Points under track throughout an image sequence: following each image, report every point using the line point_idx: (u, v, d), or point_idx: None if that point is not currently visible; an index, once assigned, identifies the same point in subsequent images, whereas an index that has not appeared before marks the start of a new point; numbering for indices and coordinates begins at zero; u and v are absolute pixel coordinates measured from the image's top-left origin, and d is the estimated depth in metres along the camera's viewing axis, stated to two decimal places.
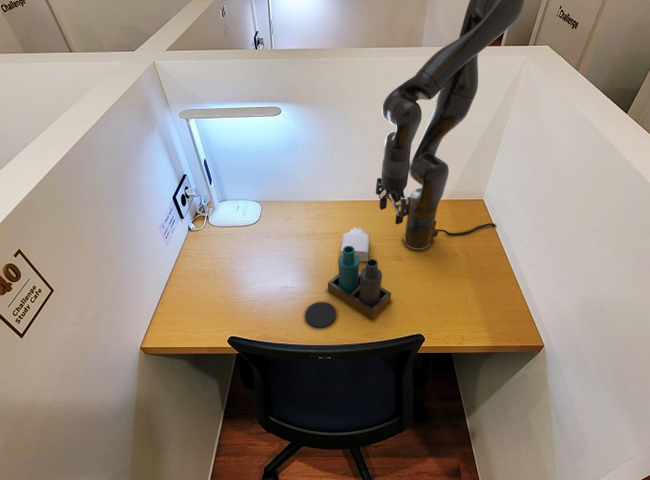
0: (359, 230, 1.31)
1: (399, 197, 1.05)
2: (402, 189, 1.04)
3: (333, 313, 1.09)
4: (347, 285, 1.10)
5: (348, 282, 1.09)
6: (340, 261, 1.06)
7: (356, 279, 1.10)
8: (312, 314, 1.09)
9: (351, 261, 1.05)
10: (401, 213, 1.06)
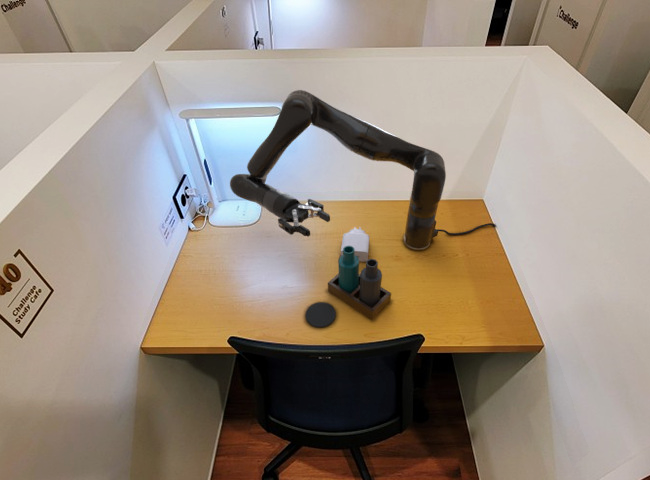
0: (359, 230, 1.31)
1: (286, 221, 1.09)
2: (281, 215, 1.09)
3: (333, 313, 1.09)
4: (347, 285, 1.10)
5: (348, 282, 1.09)
6: (340, 261, 1.06)
7: (356, 279, 1.10)
8: (312, 314, 1.09)
9: (351, 261, 1.05)
10: None
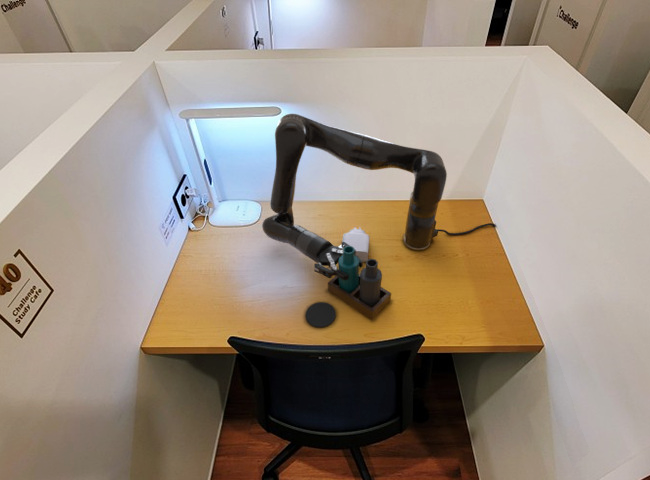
0: (359, 230, 1.31)
1: None
2: (315, 258, 1.11)
3: (333, 313, 1.09)
4: (347, 285, 1.10)
5: (348, 282, 1.09)
6: (340, 261, 1.06)
7: (356, 279, 1.10)
8: (312, 314, 1.09)
9: (351, 261, 1.05)
10: None
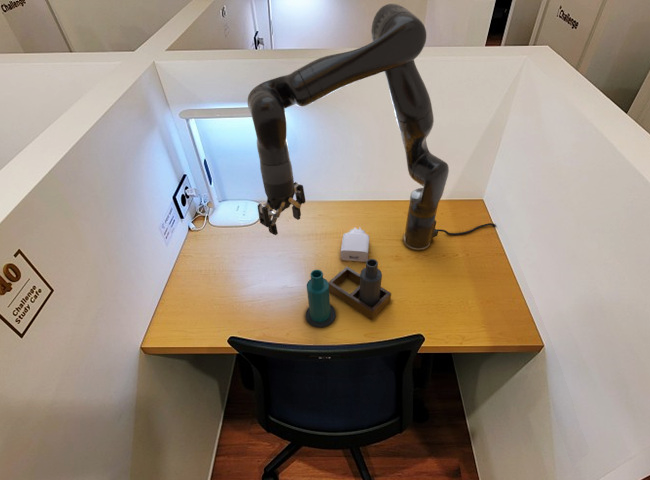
0: (359, 230, 1.31)
1: (267, 203, 0.93)
2: (269, 197, 0.91)
3: (333, 313, 1.09)
4: (317, 310, 1.03)
5: (318, 307, 1.02)
6: (308, 285, 0.99)
7: (326, 304, 1.02)
8: None
9: (320, 286, 0.98)
10: None
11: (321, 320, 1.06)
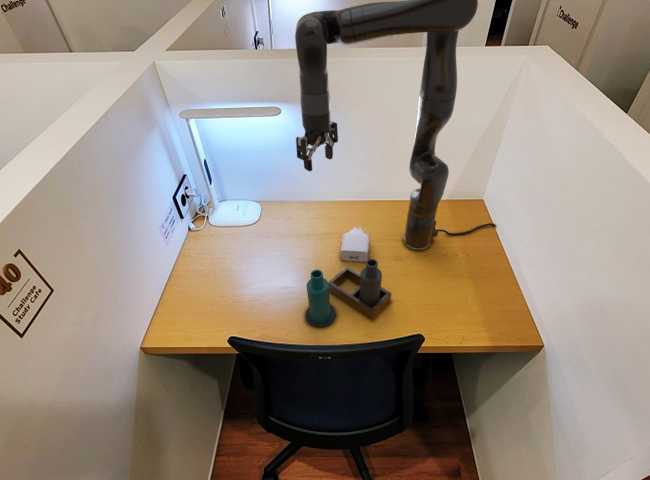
0: (359, 230, 1.31)
1: None
2: (307, 129, 0.95)
3: (333, 313, 1.09)
4: (317, 310, 1.03)
5: (318, 307, 1.02)
6: (308, 285, 0.99)
7: (326, 304, 1.02)
8: None
9: (320, 286, 0.98)
10: None
11: (321, 320, 1.06)
